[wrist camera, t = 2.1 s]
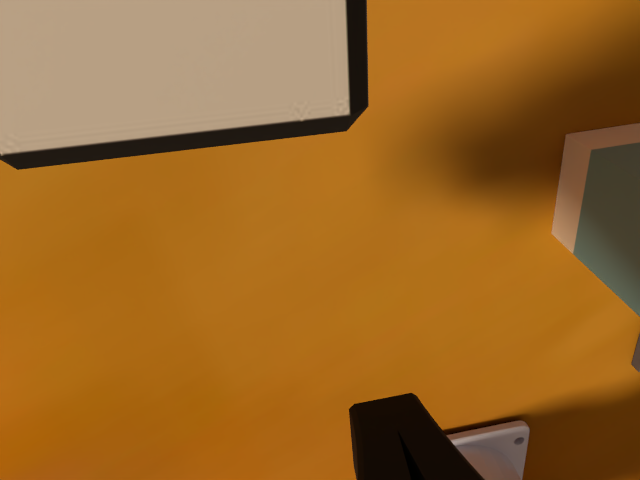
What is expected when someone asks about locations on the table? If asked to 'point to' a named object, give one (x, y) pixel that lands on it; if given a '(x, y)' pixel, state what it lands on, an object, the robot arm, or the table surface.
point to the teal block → (603, 206)
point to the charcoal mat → (637, 356)
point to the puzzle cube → (174, 75)
